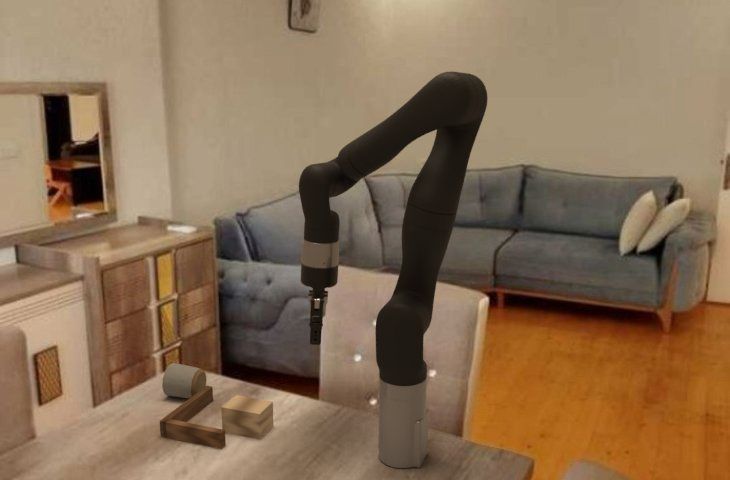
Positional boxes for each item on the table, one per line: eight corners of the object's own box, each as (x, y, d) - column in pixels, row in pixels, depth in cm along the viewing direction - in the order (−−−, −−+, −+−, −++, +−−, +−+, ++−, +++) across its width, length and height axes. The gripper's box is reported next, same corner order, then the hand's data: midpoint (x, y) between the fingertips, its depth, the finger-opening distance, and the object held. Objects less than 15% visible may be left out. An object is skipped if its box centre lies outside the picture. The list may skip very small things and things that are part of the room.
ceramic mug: (194, 405, 160) (193, 373, 158) (162, 400, 161) (160, 370, 160) (214, 386, 170) (213, 356, 168) (184, 382, 172) (182, 353, 170)
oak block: (273, 426, 150) (272, 401, 149) (260, 440, 145) (259, 414, 143) (236, 420, 153) (235, 395, 152) (222, 432, 148) (221, 407, 146)
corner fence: (263, 409, 157) (263, 395, 157) (221, 449, 141) (221, 433, 140) (207, 399, 162) (206, 385, 161) (160, 436, 146) (159, 421, 145)
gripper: (338, 272, 134) (333, 350, 137) (338, 253, 147) (334, 324, 151) (299, 270, 133) (295, 348, 137) (303, 251, 147) (300, 323, 151)
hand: (316, 336), depth 144 cm, fingers open, 8 cm apart
